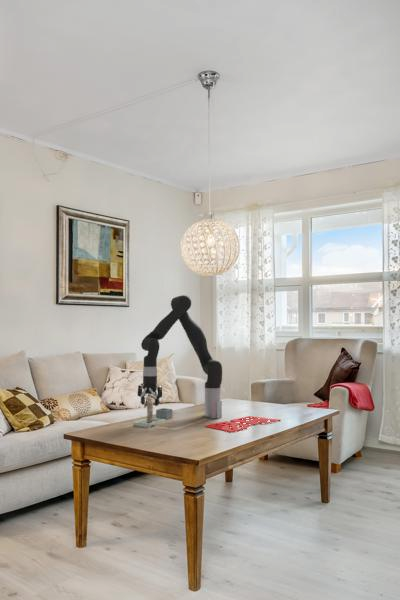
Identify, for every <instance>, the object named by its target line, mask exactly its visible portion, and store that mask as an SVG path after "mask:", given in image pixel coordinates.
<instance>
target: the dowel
mask: <svg viewBox="0 0 400 600" xmlns="http://www.w3.org/2000/svg"><path fill="white" fill-rule="evenodd" d="M146 408H147V409H146V419H147V421H146V423H152V422H153V421H154V420H153V418H154V417H153V415H154V414H153V412H154V398H152V397H149V398H147V406H146Z"/></svg>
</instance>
